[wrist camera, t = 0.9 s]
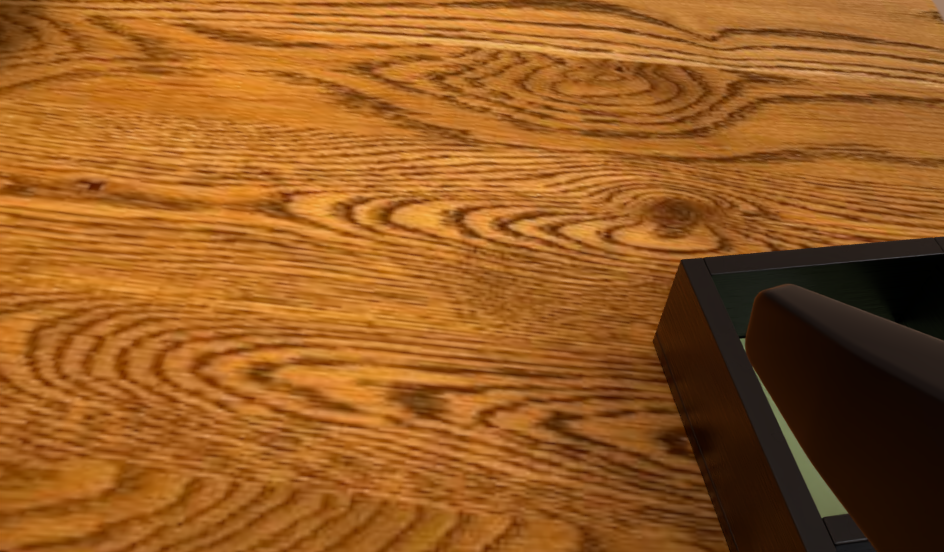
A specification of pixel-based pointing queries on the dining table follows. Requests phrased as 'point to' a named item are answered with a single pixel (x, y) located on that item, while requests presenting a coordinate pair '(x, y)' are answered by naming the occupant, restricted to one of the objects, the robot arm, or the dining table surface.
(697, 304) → the divided tray
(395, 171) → the dining table surface
